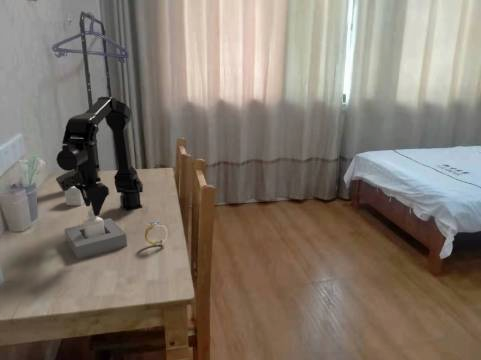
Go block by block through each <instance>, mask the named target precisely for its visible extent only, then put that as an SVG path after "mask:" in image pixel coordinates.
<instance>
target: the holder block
mask: <svg viewBox="0 0 481 360" xmlns="http://www.w3.org/2000/svg"><path fill="white" fill-rule="evenodd" d="M103 221H104V229H105V234H104V235H100V236H96V237H92V238H88V239H86V237H85V229H84V223H83V224H80V225H75V226H71V227H66V228H64V236H65V241H66V243H67V244H68V246H69V247H70V249H71V251H72V252H73V254H74V255H75V257H76V259H77V260H81V259H84V258H85V259H86V258H88V257H92V256H95V255H99V254H103V253H106V252H109V251H113V250H117V249H120V248H124V247H127V246H128V241H127V234H126V232H125V231H124V230H123V229H122V228H121V227H120V226H119V225H118V224H117V223H116V222H115V221H114V220H113V219H112V218H111V217H110V218H105V219H103Z"/></svg>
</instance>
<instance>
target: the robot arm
mask: <svg viewBox="0 0 481 360" xmlns="http://www.w3.org/2000/svg"><path fill="white" fill-rule="evenodd" d="M131 116H132V114H131V109H130V107H129V106H128V105H127V104H126V103H125V102H122V101H120V100H118V99H116V97H113V96H100V97H98V98H97V101H95V103H93V104H92V105H91V106H90V108H88V109H87V110H86V111H85V112H83V113H80V114H77V115H73V116H72V117H70V118H69V119H68V120H67V122H66V125H65V131H64V133H63V138H62V142H61V143H62V146H61V150H60V151H59V152H58V153H57V156H56V163H57V165H58V167H60V168H61V170H64V171H66V172H65V173H63V174H61V175H59V176H58V177H56V178H55V181H56V182H57V184H58V185H59V186H58V187H60V189H61V190H62V192H65V191H67V190H69V188H71V187H73V186H75V187H76V188H77V189H79V190H80V192H81V195H82V197H83V200H84V202H85V203H84V205H85V207H90V206H91V207H92V209H93V213H94V215H95V216H97V217H99V215H100V213H101V210H102V208H103V205H104V203H105V201H106V198H107V197H108V196H109V195H110V188H109V187H108V186H106V184H104V183H102V182H101V181H102V180H101V177H100V176H99V169H100V164H99V163H98V160H97V152H96V144H97V142H98V140H97V139H96V137H97V135H98V132H99V131H100V129H99V128H100V127H99V124H100V123H102V121H103V120H104V119H105V122H106V124H107V126H108V127H109V128H110V130H111V131H112V136H113V142H114V149H115V155H116V163H117V171H116V173H115V175H114V177H113V178H114V186H115V189H116V193H118V194H120V196H119V199H120V200H119V202H120V207H122V208H123V209H124V211H129V210H135V209H139V208H143V205H142V204H141V194H140V193H143V192H144V184H143V182H142V181H141V179H140V178H139V174H138V172H137V170H136V169H135V168H134V167H133V165H132V157H131V151H130V145H129V144H130V143H129V135H128V127H129V124H130V122H131ZM71 137H72V138H71ZM81 138H83V139H81ZM73 169H74V170H73ZM71 170H72V171H71Z"/></svg>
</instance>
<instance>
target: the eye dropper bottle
mask: <svg viewBox="0 0 481 360" xmlns="http://www.w3.org/2000/svg"><path fill="white" fill-rule="evenodd" d="M87 213H88V218H87V219H86V220H85V221H84V222H83V224H84V229H85V237H86V239H88V238H92V237H96V236H100V235H104V234H105V229H104V221H103V220H104V219H103V218H102V217H100V216H95V215H94V213H93V209H92V206H91V207H90V210H89V211H87Z"/></svg>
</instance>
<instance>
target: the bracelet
mask: <svg viewBox="0 0 481 360" xmlns="http://www.w3.org/2000/svg"><path fill="white" fill-rule="evenodd" d="M156 227H160V228H162V229H163V230H164V232H165V233H164V237H163V238H162V240H160V241H158V240H157V241H152V240H150V239H149V238H148V233H149V232H150V231H152V230H153V229H154V228H156ZM168 231H169V230H168V228H167V226H166V225H165V224H163V223H161V221H157V220H152V222H149V224H147V225H146V227H145V229H144V239H145V241H146V242H147V243H148V244H149V245H153V246H157V247H158V246H159V245H161V244H163V243H165V242H166V240H167V239H168V236H169V232H168Z"/></svg>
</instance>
